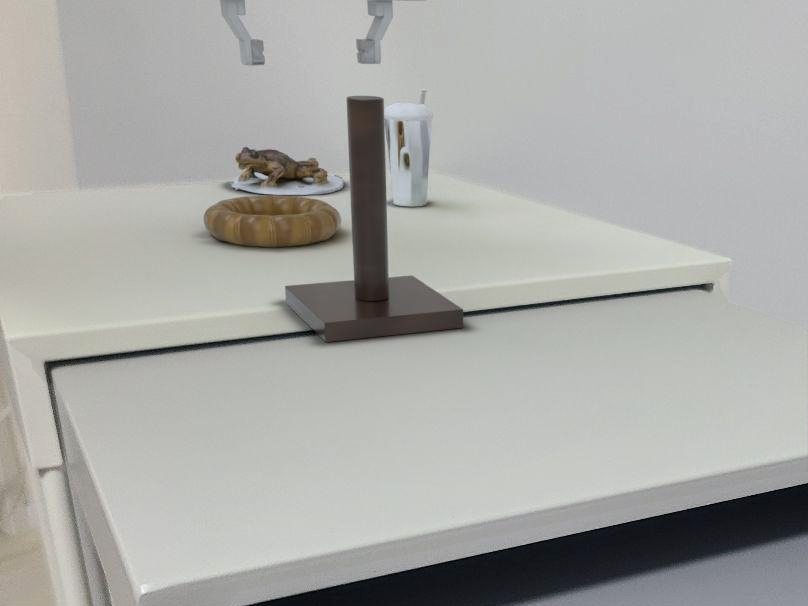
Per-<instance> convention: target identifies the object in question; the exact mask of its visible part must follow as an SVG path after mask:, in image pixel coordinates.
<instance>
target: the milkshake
mask: <svg viewBox="0 0 808 606" xmlns="http://www.w3.org/2000/svg"><path fill="white" fill-rule="evenodd" d="M426 96H427V89H422V90H421V95H420V98H419V99H420V100H419V103H414V102H411V101H410V102H405V103H404V102H394V103H392V104H390V105H388V106H386V108H384V123H385V140H386V146H387V152H388V153H387V154H388V165H389V175H390V185H391V194H392V203H393V205H395V206H398V207H399V206H400V207H411V208H412V207H413V208H414V207H422V206H425V205H427V204H428V203H427V202H428V186H429V185H428V184H429V168H430V153H431V142H432V141H431V140H432V130H433V116H434V114H433V112H432V110H431V109H430V108H429V107H428V106H427V105H425V102H426Z"/></svg>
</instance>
